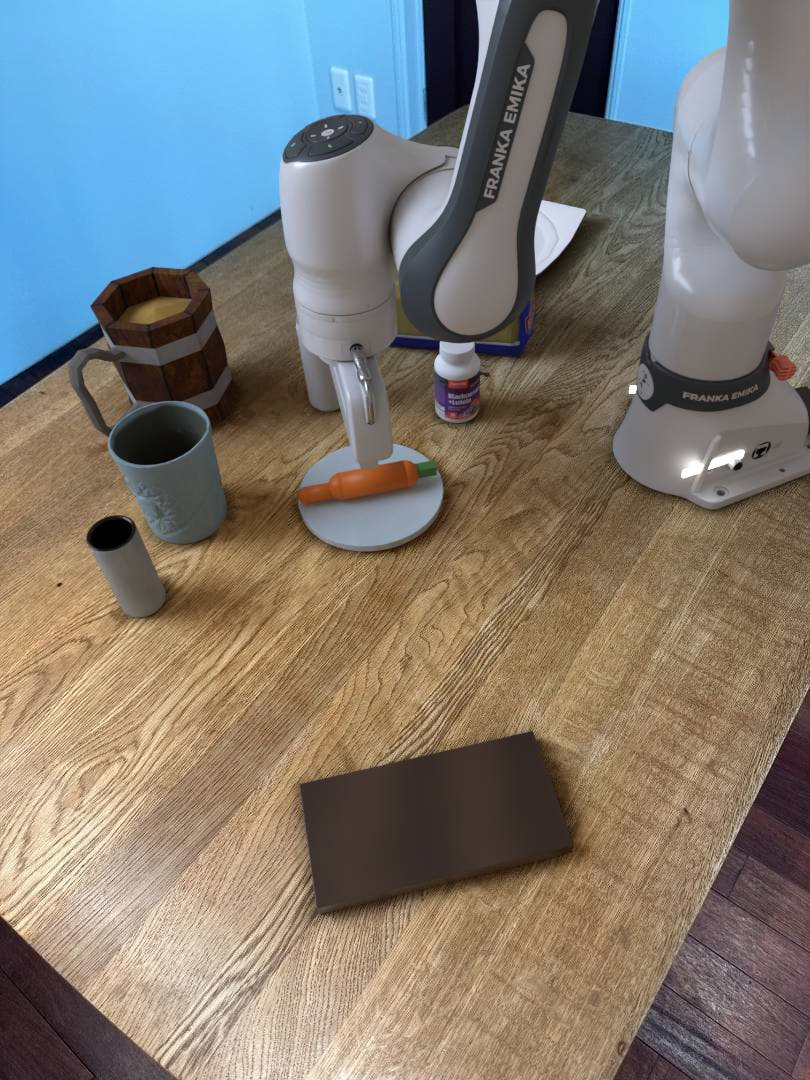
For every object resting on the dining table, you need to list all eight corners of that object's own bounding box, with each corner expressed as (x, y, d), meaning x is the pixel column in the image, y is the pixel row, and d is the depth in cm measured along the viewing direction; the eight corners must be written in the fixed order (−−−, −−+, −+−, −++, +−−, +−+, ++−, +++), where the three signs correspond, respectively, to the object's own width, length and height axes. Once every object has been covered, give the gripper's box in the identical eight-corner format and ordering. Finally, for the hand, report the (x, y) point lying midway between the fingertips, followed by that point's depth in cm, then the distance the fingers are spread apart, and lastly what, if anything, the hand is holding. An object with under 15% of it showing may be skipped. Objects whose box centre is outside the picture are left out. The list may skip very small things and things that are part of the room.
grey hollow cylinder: (144, 625, 80) (110, 558, 72) (111, 606, 82) (75, 539, 74) (175, 593, 82) (146, 525, 75) (143, 576, 84) (111, 508, 76)
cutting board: (531, 739, 70) (532, 730, 69) (572, 852, 63) (574, 845, 62) (301, 791, 68) (299, 783, 67) (318, 914, 61) (316, 908, 60)
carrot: (432, 468, 91) (431, 449, 88) (439, 487, 89) (438, 467, 86) (297, 495, 89) (293, 475, 87) (300, 514, 87) (296, 494, 85)
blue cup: (145, 558, 86) (108, 476, 77) (140, 493, 92) (105, 411, 83) (240, 535, 87) (215, 453, 78) (228, 473, 94) (204, 390, 85)
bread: (527, 365, 104) (532, 293, 96) (341, 347, 109) (332, 278, 101) (536, 320, 110) (542, 249, 103) (361, 305, 115) (354, 237, 107)
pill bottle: (449, 430, 97) (447, 362, 89) (427, 405, 100) (424, 338, 93) (488, 414, 98) (490, 347, 91) (465, 390, 101) (465, 323, 94)
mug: (185, 357, 109) (153, 254, 98) (260, 390, 104) (235, 285, 92) (70, 441, 99) (19, 337, 88) (146, 482, 93) (102, 377, 82)
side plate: (425, 438, 96) (424, 430, 95) (459, 536, 85) (459, 529, 84) (291, 463, 94) (289, 456, 93) (309, 566, 84) (308, 559, 83)
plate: (596, 224, 126) (599, 208, 124) (511, 317, 111) (512, 300, 109) (439, 187, 137) (439, 171, 135) (342, 267, 122) (340, 250, 120)
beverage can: (342, 415, 99) (330, 332, 90) (305, 412, 100) (289, 329, 91) (352, 391, 102) (341, 308, 93) (315, 387, 103) (301, 305, 94)
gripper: (407, 380, 66) (412, 499, 76) (361, 254, 79) (371, 370, 90) (330, 393, 65) (346, 511, 76) (297, 264, 78) (315, 379, 89)
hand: (359, 433), depth 83 cm, fingers open, 8 cm apart
